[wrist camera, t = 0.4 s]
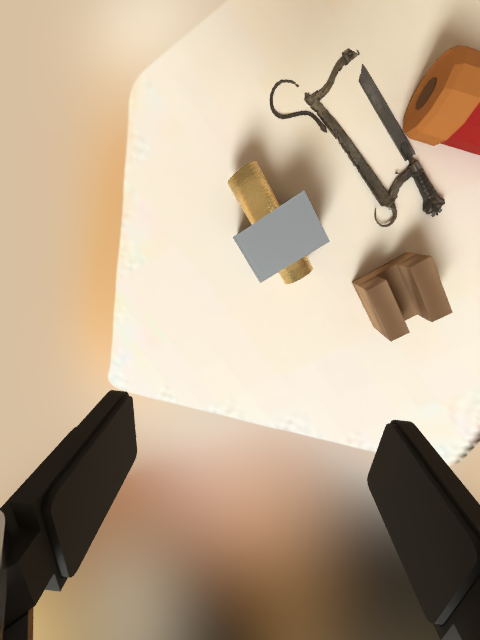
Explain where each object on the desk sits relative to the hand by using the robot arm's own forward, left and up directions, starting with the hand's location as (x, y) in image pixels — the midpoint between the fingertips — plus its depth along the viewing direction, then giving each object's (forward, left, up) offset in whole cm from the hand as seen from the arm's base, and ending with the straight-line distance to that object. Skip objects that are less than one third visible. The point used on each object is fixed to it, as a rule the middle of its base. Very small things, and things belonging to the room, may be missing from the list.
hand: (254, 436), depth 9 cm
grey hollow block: (-6, -4, -29) cm, 29 cm away
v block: (-16, +11, -29) cm, 35 cm away
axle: (-6, -5, -28) cm, 29 cm away
